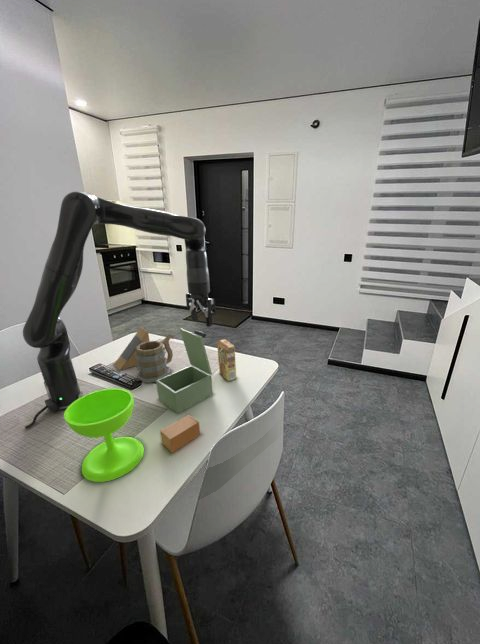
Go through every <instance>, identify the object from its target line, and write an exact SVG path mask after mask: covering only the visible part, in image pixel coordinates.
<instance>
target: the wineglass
mask: <svg viewBox="0 0 480 644" xmlns="http://www.w3.org/2000/svg"><path fill="white" fill-rule="evenodd" d="M134 406H135V399H134V394H133V393H132V392H131V391H130V390H128V389H124V388H120V387H110V388H104V389H99V390H95V391H92V392H89V393H86V394H85V395H82V397H80V398H79V399H77V400H76V401H74V402H73V403H72V404H70V405H69V406H68V407H67V409H65V410H64V413H63V418H64V420H65V422H66V424H67V426H68V427H69V429H71V430H72V431H73V432H74V433H76V434H77V435H79V436H83V437H85V438H91V439H93V438H95V439H96V438H102V437H104V441H103V442H102V443H100V444H98V445H96V446H94V448H93V449H91V450H90V452H88V453H87V454H86V456H85V457H84V459H83V460H82V461H83V462H82V463H81V474H82V476H83V478H85V479H86V480H87V481H90V482H94V483H105V482H109V481H113V480H116V479H119V478H121V477H123V476H124V475H126V474H128V473H129V472H131V471H132V470H133V469H135V468H136V467H137V466H138V465H139V463H140V462H141V461H142V459H143V457H144V454H145V453H144V452H145V448H144V445H143V443H142V442H141V440H139V439H137V438H135V437H131V436H119V437H113V434H114V433H116V432H117V431H119V430H120V429H122V428H123V427H124V426H125V425H126V423H127V422H128V421H129V419H130V418H131V416H132V414H133V410H134Z"/></svg>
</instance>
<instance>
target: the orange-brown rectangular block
mask: <svg viewBox="0 0 480 644" xmlns="http://www.w3.org/2000/svg"><path fill="white" fill-rule="evenodd" d="M159 434H160V439H161V444H162V445H163V446H164V447H165V448H166V449H167V450H168V451H169V452H171V454H172V453H174V452H176V451H178V450H179V449H181V448H182V447H184V446H186V444H188V443H190V442H192V441H193V440H194V439H196V438H197V437H199V436H200V435H201V427H200V421H198V420H197V419H195V417H193V416H192V415H190V414H187V415H185V416H183V417H181V418H179V419H178V420H176V421H174V422H172V423H171V424H169V425H167V426H166V427H164V428H162V429H160V430H159Z"/></svg>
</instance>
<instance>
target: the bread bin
mask: <svg viewBox="0 0 480 644" xmlns="http://www.w3.org/2000/svg"><path fill="white" fill-rule="evenodd" d="M212 380H213V379H212V374H211V375H209V374H207V373H206V372H204V371H202V370H200V369H198V368H196V367H194V366H192V365H191V364H190V365H189V366H186V367H184V368H181V369H179V370H177V371H175V372H172V373H169V375H167V376H165V377H163V378H160V379H158V380H156V382H155V384H156V391H157V397H158V401H160V402H161V403H162V404H164V405H165V406H167V407H168V408H169V409H171V410H172V411H173V412H175V413H176V414H180V413H182V412H184V411H185V410H187V409H189V408H191V407H193V406H194V405H196V404H198V403H200V402H202V401H204V400H205V399H207V398H209V397H210V396H213V395H214V391H213V381H212Z"/></svg>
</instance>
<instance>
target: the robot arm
mask: <svg viewBox="0 0 480 644" xmlns="http://www.w3.org/2000/svg"><path fill="white" fill-rule="evenodd" d="M95 225H114V226H120V227H125V228H130V229H133V230H136V231H139V232H145V233H148V234H152V235H153V234H154V235H159V236H166V237H174V238H177V239H182V240H184V245H185V246H184V247H185V263H186V264H185V265H186V283H187V291H188V292H187V293H185V302H186V305H185V306H186V309H187V310H189V312H190V314H191V315H190V316H191V321H192V322H197V321H198V320H199V316H198V311H197V310H198V309H199V310H201V312H202V313H204V315H205V316H204V317H205V326H206V327H207V328H209V327H212V326H213V316H217V309H216V299H215V298H209V294H210V292H211V286H210V273H209V267H208V266H209V265H208V256H207V251H206V241H205V240H206V239H205V235H206V226H205V223H204V222H203V221H202V220H201V219H199V218H197V217H192V216H184V215H178V214H173V213H170V212H166V211H162V210H157V209H152V208H146V207H145V208H144V207H137V206H130V205H127V204H126V205H125V204H122V203H116V202H113V201H111V200H107V199H105V198H102V197H99V196H97V195H94V194H92V193H90V192H87V191H79V190H78V191H76V190H75V191H71V192H69V193H67V194H65V196H64V197H63V198H62V200H61V204H60V210H59V216H58V223H57V229H56V233H55V236H54V239H53V242H52V244H51V246H50V248H49V249H50V250H49V252H48V255H47V258H46V261H45V264H44V267H43V270H42V274H41V277H40V282H39V285H38V287H37V288H38V289H37V291H36V295H35V299H34V303H33V305H32V309H31V310H30V312H29V314H28V317H27V319H26V321H25V323H24V326H23V328H22V337H23V340H24V342H25V343H26V344H27V345H28V346H30V347H31V348H34V349H39V352H38V353H37V356H36V360H37V364H38V367H39V369H40V370H39V371H40V373H41V375H42V379H43V384H44V388H45V391H46V394H47V397H48V398H47V399H44V400H43V401H44V404H45V406H44V407H43V408H41V409H40V410H39V411H38V412H37V413H36V414H35V415H34V417H33V418H32V419H33V420H32V422H31V423H28V425H25V427H24V429H26V430H27V429H29V428H31V427H33V426H34V425H35V423H36V422H37V419H38V417H39V416H40V415H41V414H42V413H43V412H45V411H46V410H47V409H48V411H49V412H50V413H53V412H57V411H60V410H61V411H63V410H66V409H67V407H68V406H69V405H70V404H72V403H73V402H74V401H76V400H77V399H79V398H80V397H82V396H83V391H82V390H81V389H80V385H79V381H78V378H77V374H76V371H75V368H74V364H73V361H72V358H71V353H70V352H71V343H70V338H69V333H68V330H67V328H66V327H67V326H66V324H65V322H64V320H62V319H61V318H60V315H61V313H62V311H63V309H64V308H65V306H66V305H67V304H68V302H69V301H70V299H71V298H72V296H73V295H74V293H75V291H76V289H77V287H78V285H79V282H80V279H81V275H82V273H83V268H84V250H85V246H86V245H85V244H86V241H88V240H87V239H88V238H89V235H90V233H91V230H92V229H93V227H94V226H95Z"/></svg>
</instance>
